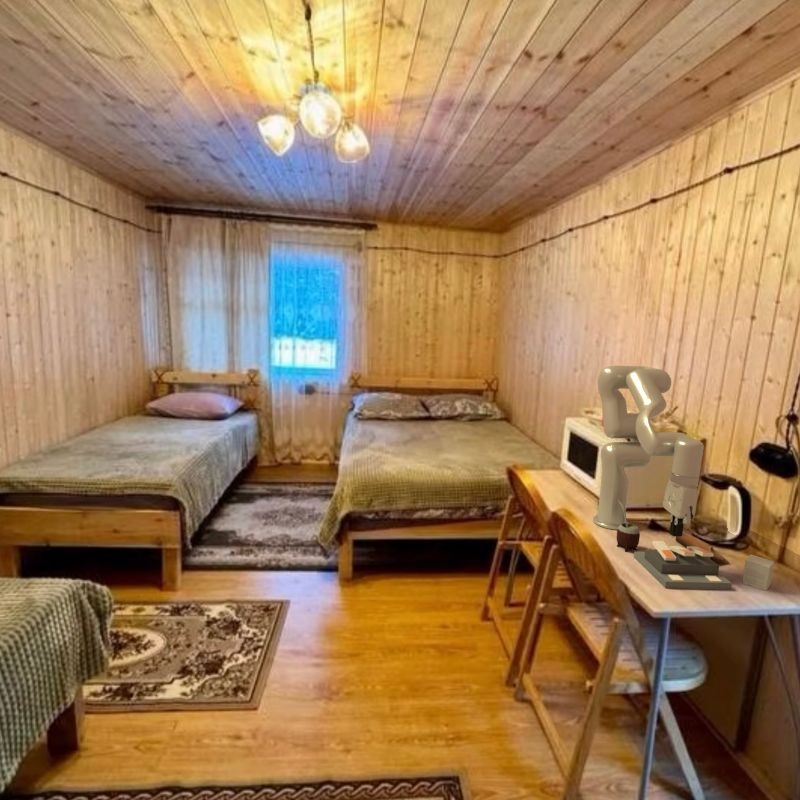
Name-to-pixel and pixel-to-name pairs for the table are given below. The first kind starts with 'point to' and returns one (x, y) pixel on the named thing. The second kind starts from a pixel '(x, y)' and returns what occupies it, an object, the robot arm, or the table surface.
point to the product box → (758, 572)
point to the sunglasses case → (695, 542)
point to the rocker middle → (681, 551)
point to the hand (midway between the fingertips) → (675, 535)
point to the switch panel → (686, 578)
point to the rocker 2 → (700, 552)
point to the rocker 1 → (664, 550)
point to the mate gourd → (627, 534)
